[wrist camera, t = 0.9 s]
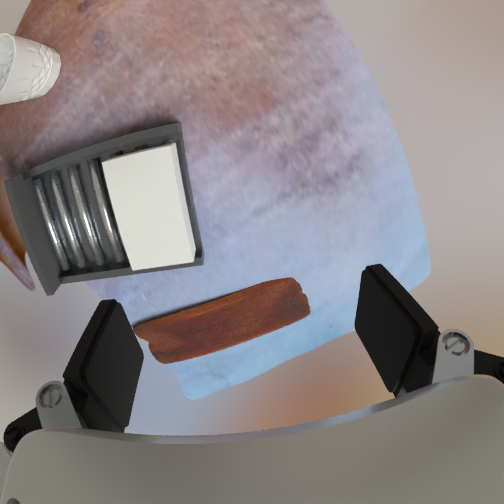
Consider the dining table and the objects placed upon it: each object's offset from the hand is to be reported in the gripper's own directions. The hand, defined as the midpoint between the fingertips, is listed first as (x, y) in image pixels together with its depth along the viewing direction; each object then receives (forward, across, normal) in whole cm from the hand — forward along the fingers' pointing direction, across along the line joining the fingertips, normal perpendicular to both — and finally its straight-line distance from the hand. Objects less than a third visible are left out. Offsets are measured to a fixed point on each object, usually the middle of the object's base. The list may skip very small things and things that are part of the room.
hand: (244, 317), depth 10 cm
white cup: (+21, +22, -20) cm, 36 cm away
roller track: (+22, +15, 0) cm, 27 cm away
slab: (+20, +8, 0) cm, 22 cm away
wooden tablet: (+24, +4, +20) cm, 31 cm away
